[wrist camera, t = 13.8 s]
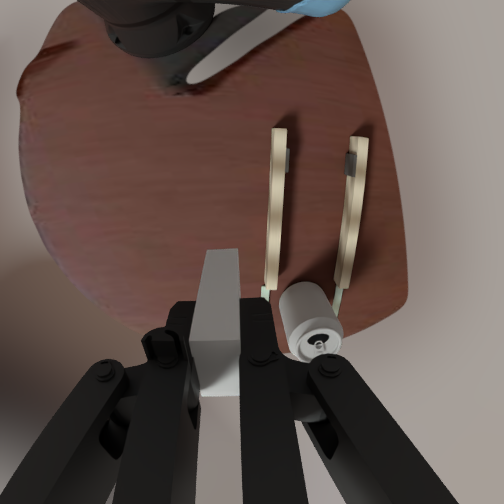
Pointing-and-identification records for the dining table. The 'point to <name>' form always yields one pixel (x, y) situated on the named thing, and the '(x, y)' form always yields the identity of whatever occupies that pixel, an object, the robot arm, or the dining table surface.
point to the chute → (350, 220)
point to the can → (309, 322)
